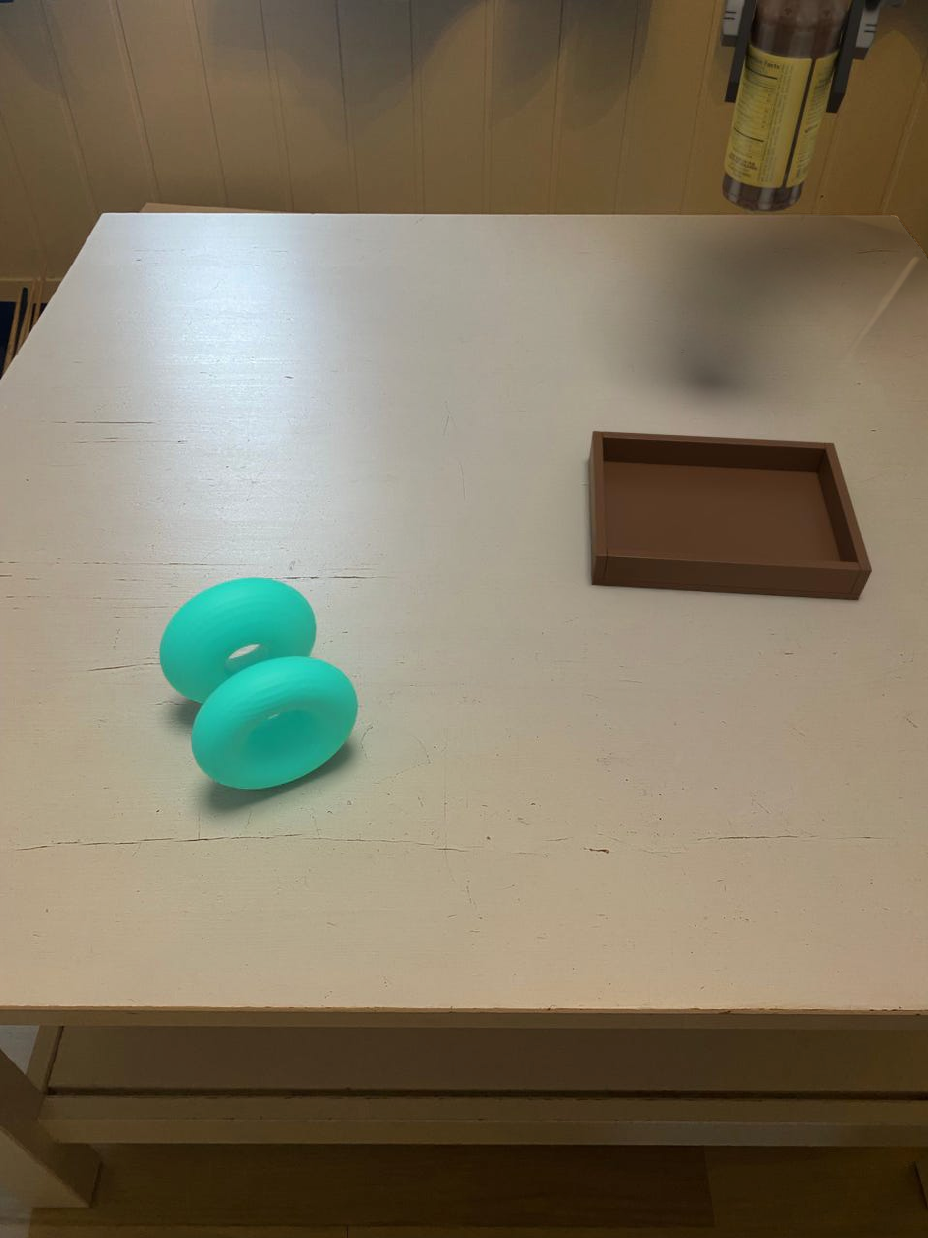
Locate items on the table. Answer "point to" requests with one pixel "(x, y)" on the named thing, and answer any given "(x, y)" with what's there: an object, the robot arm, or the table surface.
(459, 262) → the table surface
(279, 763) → the donuts
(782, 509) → the serving tray
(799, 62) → the sauce bottle
